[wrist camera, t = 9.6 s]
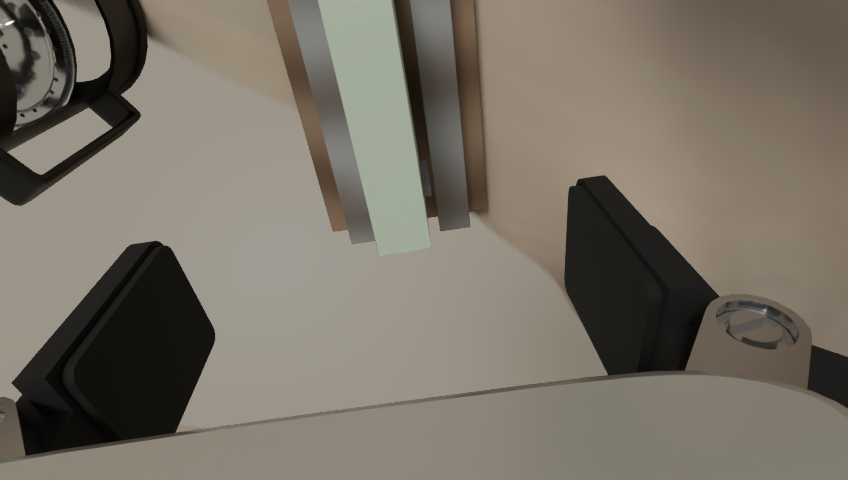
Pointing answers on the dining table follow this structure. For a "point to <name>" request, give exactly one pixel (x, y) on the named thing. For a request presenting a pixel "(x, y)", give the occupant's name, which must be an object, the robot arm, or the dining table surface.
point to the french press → (60, 85)
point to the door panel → (379, 120)
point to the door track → (429, 98)
